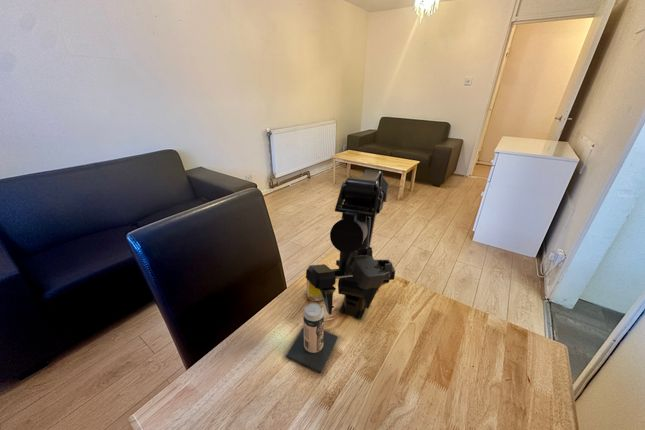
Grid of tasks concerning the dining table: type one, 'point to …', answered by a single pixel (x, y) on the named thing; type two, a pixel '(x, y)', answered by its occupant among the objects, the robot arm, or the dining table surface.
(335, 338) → the can mat
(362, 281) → the robot arm
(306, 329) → the beer can
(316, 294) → the supplement bottle
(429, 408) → the dining table surface
